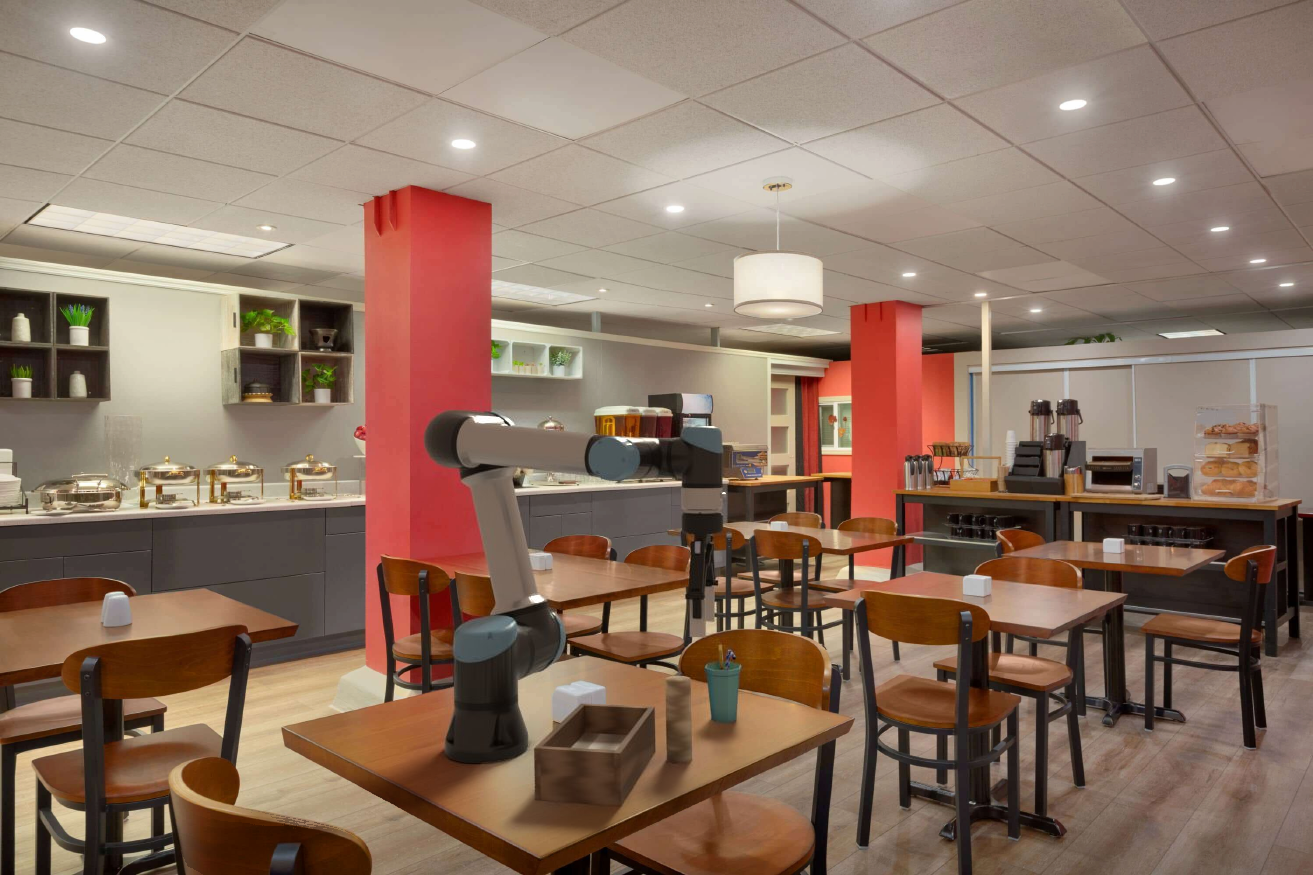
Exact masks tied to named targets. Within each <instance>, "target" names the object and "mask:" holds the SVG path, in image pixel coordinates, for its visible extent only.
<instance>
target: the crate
mask: <svg viewBox="0 0 1313 875" xmlns="http://www.w3.org/2000/svg"><path fill="white" fill-rule="evenodd" d="M655 709H656V707H655V706H642V705H641V706H640V705H625V704H624V705H621V704H619V705H618V704H601V703H596V704H595V703H582V702H581V703H580V704H579V705H578V706H576V707H575V708H574V710H573V711H571V713H569V714H568V715H567V716H566V717H565V718H564V719H563V720H562V721H561V722H559V724H557V725H556V727H555V728H554V729H552V731H551V732H549V733H548V734H547V735H546V736H545V737H544V738H543V739H542V740H541V741H540V742H539V743H538V744H537V745H535V747H533V753H534V754H533V757H534V758H533V759H534V760H533V761H534V762H533V763H534V764H533V765H534V766H533V767H534V772H533V773H534V800H535V801H536V800H537V801H548V802H561V803H562V802H563V803H573V804H588V805H589V804H590V805H601V806H614V807H615V806H617V807H622V806H623V805H624V802H625V801H626V799H627V798H628V797H629V794H630V793H631V791H632V789H633V788H634V787H635V785H636V783H637V781H638V780H639V779H640V777H641V776H642V774H643V772H644V771H645V769H646V768H647V766H648V764H649V762H650V761H651V760H652V758H653V756H654V755H655V753H656V748H657V747H656V710H655Z"/></svg>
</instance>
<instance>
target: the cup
mask: <svg viewBox="0 0 1313 875" xmlns="http://www.w3.org/2000/svg"><path fill="white" fill-rule="evenodd" d="M725 655H726V656H725V661H724V655H723V646H722V644H718V657H719V661H713V662H708V663H707V664H706V665H705V667H704V673H705V674H706V679H707V680H706V681H707V691H708V699H709V707H710V710H709V711H710V719H711V721H714V722H715V723H727V724H728V723H732V722H736V721H737V719H738V701H739V685H740V673H741V671H742V665H741V664H740V663H736V662H733V661H735V660H736V659H737V657H736V655H735V653H734V652H733V651H732V649H728V650H727V651H726V654H725ZM731 660H732V661H731Z"/></svg>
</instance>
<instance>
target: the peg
mask: <svg viewBox="0 0 1313 875" xmlns="http://www.w3.org/2000/svg"><path fill="white" fill-rule="evenodd" d="M691 682H692V680H691V677H688V676H686V675H671V676H668V677H666V678H665V681H664V683H665V684H664V685H665V686H664V687H665V729H666V730H665V732H666V733H665V736H666V737H665V738H666V739H665V740H666V741H665V742H666V761H667V762H669V763H671V764H676V765H680V764H681V765H682V764H688V763H690V762H692V761H693V733H692V732H693V731H692V728H693V727H692V726H693V725H692V683H691Z"/></svg>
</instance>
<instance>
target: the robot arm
mask: <svg viewBox="0 0 1313 875" xmlns="http://www.w3.org/2000/svg"><path fill="white" fill-rule="evenodd" d="M423 444H424V448H425V451H426V453H427V455H428V456H429V458H431V460H432V461H433V462H435V463H436V464H438V465H439V466H442V467H444V468H446V469H447V468H448V469H458V473H459V476H460V477H459V478H460V481H461V483H462V484H464V485H465V486H467V487H468V488H469V489H470V492H471V497H472V501H473V505H474V506H473V507H474V509H475V510H474V511H475V514H476V518H477V524H478V528H479V532H480V536H481V541H482V542H481V543H482V547H483V551H484V555H485V560H486V564H487V569H488V573H489V578H490V583H491V588H492V591H493V596H494V600H495V605H494V607H493V609H491V612H490V615H488V616H487V615H485V616H483V617H478V618H474V619H473V618H472V619H470V620H468V621H466V622H464V623H462V624H460V625H459V626H458V627H457V628H456V630H455V631H454V634H453V645H452V656H453V661H452V662H453V663H452V664H453V701H454V702H453V705H454V706H453V707H454V708H453V712H452V716H451V719H450V722H449V725H448V729H447V732H446V736H445V739H444V756H446V757H447V758H448V759H450V760H452V761H455V762H459V763H467V764H486V763H488V764H489V763H495V762H500V761H501V762H502V761H505V760H508V759H512V758H515V757H517V756H520V755H521V754H523V753H525V752H526V751H528V750H527V749H528V748H529V734H528V728H527V726H526V723H525V721H524V717H523V714H522V711H521V709H520V706H519V681H521V680H522V679H524V678H527V677H528V676H531V675H533V674H536V673H541V672H543V671H544V670H547V669H548V668H549V667H551V665H553V664H554V663H555V662H557V661H558V659H560V657H561V655H562V654H563V652H564V650H565V646H566V640H567V639H566V638H567V637H566V636H567V635H566V630H565V625H564V623H563V622H562V620H561V618H560V617H559V616H558V615H556V613H555V612H554V611H552V610H550V606H549V603H548V598H546V597H544V596H543V595H541V594H540V593H539V592H538V587H537V583H536V579H535V575H534V569H533V566H532V562H531V558H530V552H529V547H528V544H527V540H526V538H527V537H526V535H525V531H524V530H525V529H524V526H523V522H522V517H521V512H520V508H519V504H518V499H517V494H516V490H515V486H514V481H513V478H514V476H515V474H516V473H517V471H518V468H519V469H524V470H525V469H526V470H536V471H544V472H550V473H552V472H553V473H559V474H560V473H561V474H570V475H577V476H587V477H594V478H600V479H602V480H605V481H609V482H621V481H625V480H644V479H681V489H680V490H681V492H680V493H681V494H680V495H681V498H680V500H681V502H680V504H681V507H680V508H681V509H682V510H683V511H684V512H682V514H681V531H682V533H684V534H687V535H693V536H694V537H693V541H690V543H689V545H690V546H689V547H690V549H689V550H690V556H689V557H690V559H689V560H690V561H689V574H688V589H687V590H688V591H687V593H685V595H684V598H685V600H689V637H690V638H704V639H705V638H706V637H707V633H706V632H707V630H706V629H707V628H706V627H707V626H706V625H707V624H706V623H707V622H709V623H714V622H716V621H715V620H716V619H715V615H716V614H715V610H716V607H715V603H716V602H715V600H716V599H715V592H716V591H715V587H718V586H719V580H718V579H717V577H716V569H715V566H716V565H715V543H714V538H715V537H714V535H719V534H721V533H722V532H724V514H723V513H722V512H720V511H721V510H723V508H724V506H723V505H724V504H723V502H724V501H723V499H726V498H727V494H726V492H723V487H724V483H723V480H724V478H723V477H724V473H723V472H724V471H723V470H724V448H723V447H724V446H723V433H722V430H721V429H720V428H719V427H717V426H709V425H708V426H705V425H704V426H702V425H701V426H684V427H682V429H681V433H680V436H679V437H642V436H641V437H640V436H639V437H638V436H637V437H635V436H634V437H630V436H621V435H611V434H610V435H607V434H597V433H590V432H589V433H586V432H579V431H576V432H575V431H566V430H557V429H546V428H538V427H537V428H536V427H527V426H524V427H523V426H517V425H516V424H515V423H514V421H513V420H511V419H510V418H508V417H507V416H505V415H504V414H500V413H496V412H493V411H485V410H483V411H475V410H474V411H473V410H472V411H471V410H462V409H450V410H449V409H448V410H444V411H443V412H440V413H438V414H437V415H435V416H434V417H433V418H432V419H431V420H430V421H429V422H428V424H427V425H426V428H425V431H424V436H423Z"/></svg>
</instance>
